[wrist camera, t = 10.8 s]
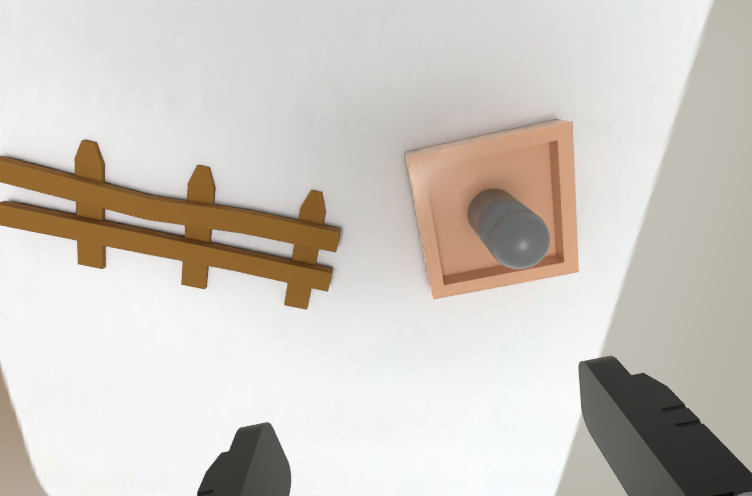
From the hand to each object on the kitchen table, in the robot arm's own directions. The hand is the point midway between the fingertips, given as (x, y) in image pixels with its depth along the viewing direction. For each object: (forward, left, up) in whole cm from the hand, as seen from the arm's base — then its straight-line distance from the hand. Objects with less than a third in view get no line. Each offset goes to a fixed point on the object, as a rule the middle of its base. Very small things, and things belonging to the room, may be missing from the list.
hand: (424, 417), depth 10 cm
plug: (+2, +7, -21) cm, 22 cm away
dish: (+2, +7, -22) cm, 23 cm away
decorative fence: (-2, -17, -23) cm, 28 cm away
